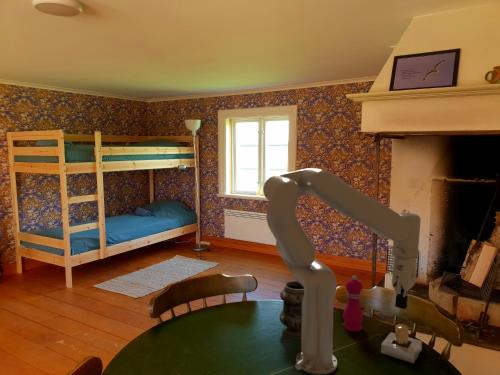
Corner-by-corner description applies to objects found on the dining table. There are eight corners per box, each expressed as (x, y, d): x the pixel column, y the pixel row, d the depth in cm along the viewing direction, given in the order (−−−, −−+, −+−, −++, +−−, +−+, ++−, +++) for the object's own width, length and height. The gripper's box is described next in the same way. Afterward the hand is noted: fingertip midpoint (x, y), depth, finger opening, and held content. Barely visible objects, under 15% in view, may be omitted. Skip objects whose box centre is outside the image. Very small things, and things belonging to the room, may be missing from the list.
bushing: (406, 355, 119) (407, 331, 119) (393, 351, 122) (394, 328, 121) (408, 349, 123) (409, 326, 122) (396, 345, 125) (397, 323, 124)
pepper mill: (365, 332, 135) (367, 278, 133) (345, 332, 135) (346, 278, 133) (360, 323, 142) (361, 272, 140) (340, 323, 142) (342, 272, 140)
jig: (413, 363, 115) (413, 354, 115) (381, 352, 121) (381, 344, 121) (421, 349, 123) (421, 341, 123) (390, 340, 129) (390, 332, 129)
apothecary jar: (302, 344, 126) (302, 293, 125) (272, 334, 134) (272, 285, 132) (318, 330, 136) (319, 283, 134) (290, 321, 143) (290, 276, 141)
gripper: (411, 259, 111) (406, 318, 112) (423, 249, 122) (419, 303, 124) (385, 254, 115) (381, 311, 117) (399, 245, 127) (395, 297, 129)
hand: (400, 307), depth 120 cm, fingers closed
